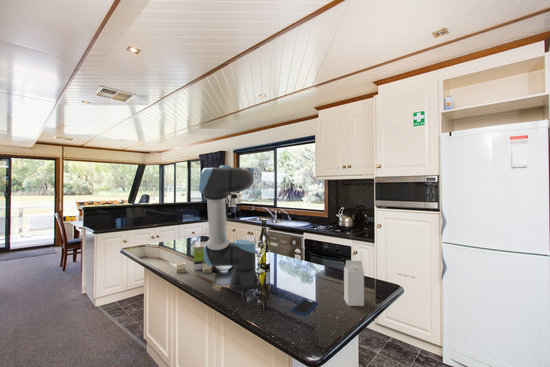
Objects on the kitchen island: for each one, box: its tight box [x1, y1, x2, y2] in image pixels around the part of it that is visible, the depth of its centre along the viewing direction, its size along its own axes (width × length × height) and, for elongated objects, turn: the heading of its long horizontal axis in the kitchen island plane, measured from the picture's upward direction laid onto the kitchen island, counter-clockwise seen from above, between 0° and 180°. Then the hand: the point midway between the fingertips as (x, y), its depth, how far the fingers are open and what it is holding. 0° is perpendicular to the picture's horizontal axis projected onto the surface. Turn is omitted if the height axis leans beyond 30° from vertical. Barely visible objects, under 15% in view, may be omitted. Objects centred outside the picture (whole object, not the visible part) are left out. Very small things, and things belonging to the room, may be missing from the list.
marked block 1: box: [176, 261, 186, 274], centre depth 159 cm, size 5×5×5 cm
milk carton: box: [343, 260, 365, 307], centre depth 116 cm, size 7×7×19 cm
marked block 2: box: [201, 262, 213, 274], centre depth 159 cm, size 5×5×5 cm
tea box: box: [193, 241, 207, 271], centre depth 169 cm, size 15×10×15 cm
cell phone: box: [290, 298, 319, 316], centre depth 112 cm, size 7×14×1 cm, turn 148°
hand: (224, 225), depth 166 cm, fingers closed
